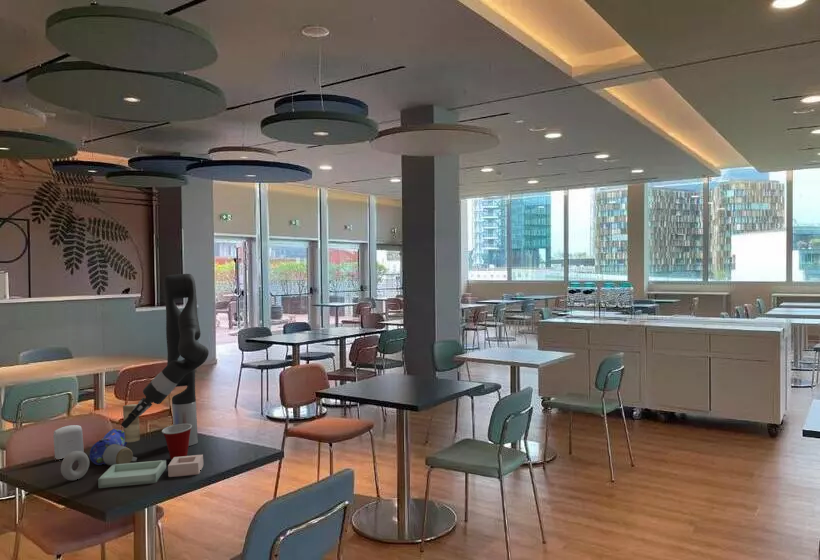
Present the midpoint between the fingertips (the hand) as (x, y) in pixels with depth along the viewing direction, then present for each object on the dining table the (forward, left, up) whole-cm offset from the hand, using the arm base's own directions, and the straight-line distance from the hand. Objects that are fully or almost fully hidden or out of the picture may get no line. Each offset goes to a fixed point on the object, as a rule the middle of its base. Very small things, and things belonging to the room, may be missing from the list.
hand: (125, 424), depth 211 cm
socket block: (-2, +19, -19) cm, 27 cm away
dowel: (0, +2, -6) cm, 6 cm away
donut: (-4, -18, -19) cm, 27 cm away
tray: (0, +2, -19) cm, 19 cm away
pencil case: (-30, -15, -19) cm, 38 cm away
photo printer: (-35, -31, -19) cm, 50 cm away
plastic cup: (-19, +13, -19) cm, 30 cm away
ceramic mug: (-18, -7, -19) cm, 27 cm away
